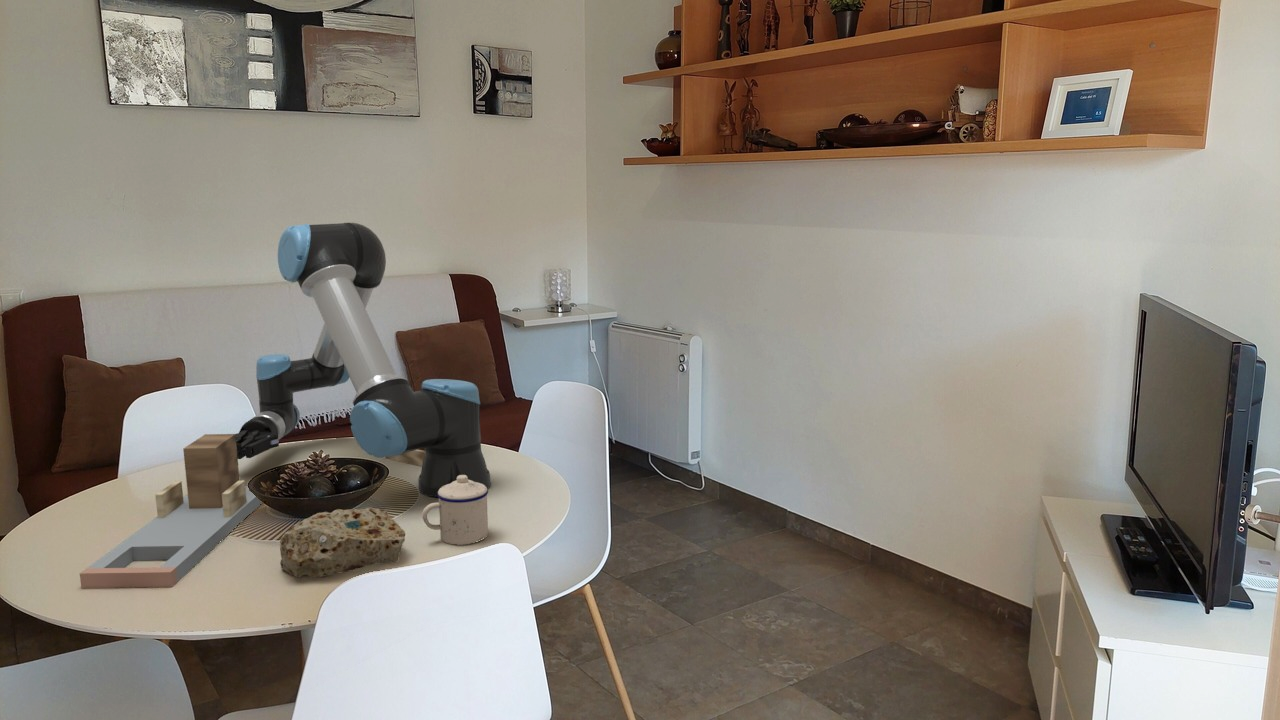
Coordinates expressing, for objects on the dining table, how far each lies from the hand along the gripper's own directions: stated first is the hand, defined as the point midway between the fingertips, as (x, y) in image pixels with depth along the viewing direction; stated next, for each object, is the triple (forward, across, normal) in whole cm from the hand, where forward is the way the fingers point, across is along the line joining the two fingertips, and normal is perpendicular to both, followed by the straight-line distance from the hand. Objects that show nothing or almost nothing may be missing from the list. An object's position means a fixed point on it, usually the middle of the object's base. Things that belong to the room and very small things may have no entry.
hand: (218, 462), depth 186 cm
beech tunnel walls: (+11, -1, -6) cm, 13 cm away
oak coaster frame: (-33, -36, -8) cm, 49 cm away
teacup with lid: (+21, -51, -9) cm, 56 cm away
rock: (+31, -34, -9) cm, 47 cm away
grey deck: (+19, -1, -8) cm, 20 cm away
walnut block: (+5, -1, -6) cm, 8 cm away
